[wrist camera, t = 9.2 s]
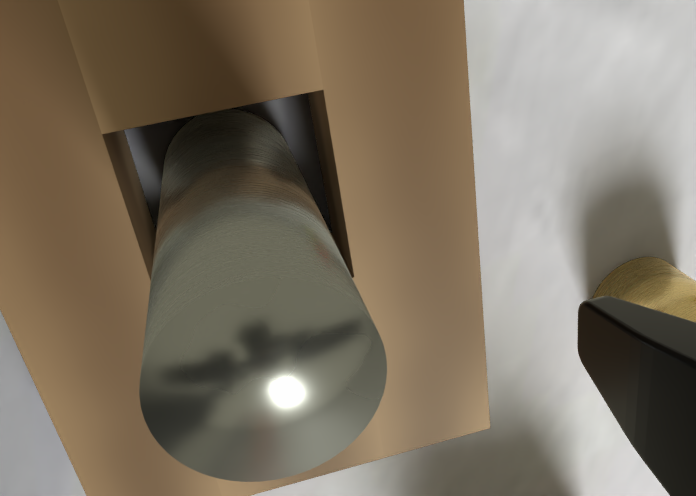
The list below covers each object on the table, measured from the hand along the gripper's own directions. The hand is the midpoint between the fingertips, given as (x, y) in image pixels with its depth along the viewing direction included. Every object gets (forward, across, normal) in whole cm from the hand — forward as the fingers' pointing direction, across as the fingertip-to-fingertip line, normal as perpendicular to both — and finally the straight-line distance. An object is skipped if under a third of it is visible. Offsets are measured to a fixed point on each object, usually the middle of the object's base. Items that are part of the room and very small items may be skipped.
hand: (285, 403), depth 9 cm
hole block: (+10, 0, 0) cm, 11 cm away
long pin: (+10, 0, 0) cm, 11 cm away
